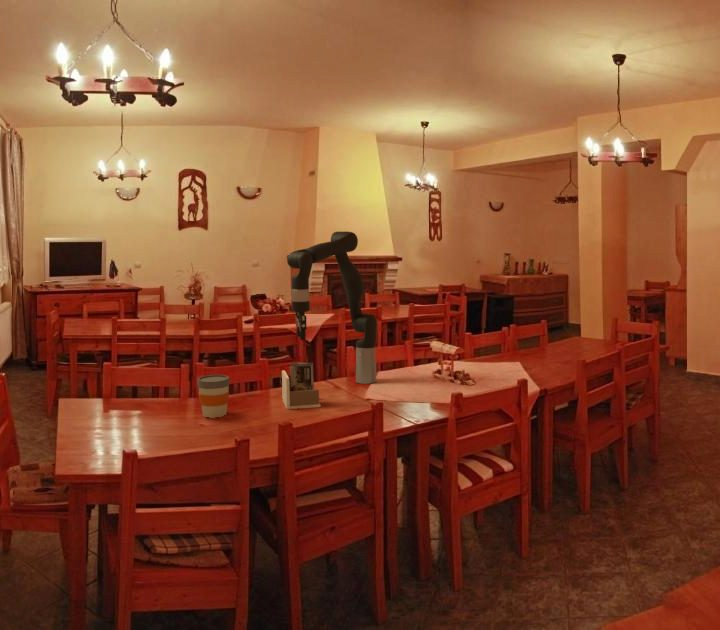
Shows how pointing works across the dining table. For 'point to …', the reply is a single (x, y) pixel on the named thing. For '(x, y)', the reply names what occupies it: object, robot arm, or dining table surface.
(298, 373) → the coffee box
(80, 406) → the dining table surface
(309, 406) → the book rack
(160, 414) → the dining table surface
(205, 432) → the dining table surface
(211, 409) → the reusable coffee cup
